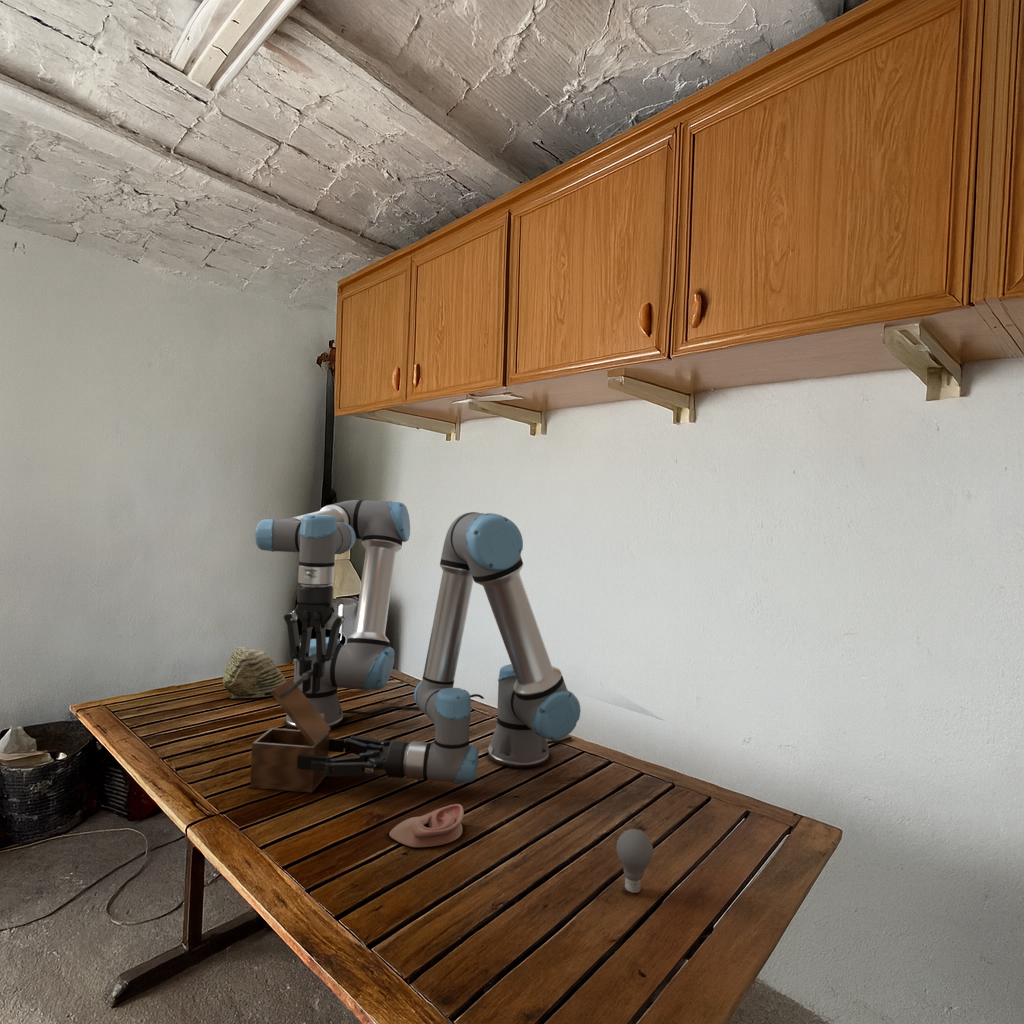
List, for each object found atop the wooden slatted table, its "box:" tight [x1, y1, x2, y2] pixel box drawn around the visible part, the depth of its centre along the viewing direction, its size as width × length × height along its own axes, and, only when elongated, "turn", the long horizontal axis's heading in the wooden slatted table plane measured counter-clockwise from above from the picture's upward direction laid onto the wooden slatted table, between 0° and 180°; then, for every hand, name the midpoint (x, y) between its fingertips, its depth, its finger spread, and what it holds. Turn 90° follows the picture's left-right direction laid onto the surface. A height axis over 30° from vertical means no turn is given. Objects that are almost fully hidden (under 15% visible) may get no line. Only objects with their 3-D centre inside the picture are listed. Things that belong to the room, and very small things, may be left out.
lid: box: [270, 668, 332, 746], centre depth 140 cm, size 15×9×9 cm
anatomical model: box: [388, 803, 465, 848], centre depth 121 cm, size 13×4×12 cm
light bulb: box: [615, 828, 654, 894], centre depth 106 cm, size 6×6×10 cm
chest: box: [249, 727, 330, 794], centre depth 140 cm, size 14×9×10 cm, turn 86°
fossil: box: [222, 646, 287, 699], centre depth 198 cm, size 9×18×15 cm, turn 132°
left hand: (311, 691), depth 140 cm, fingers closed on lid, 1 cm apart
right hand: (307, 752), depth 140 cm, fingers closed on chest, 9 cm apart
